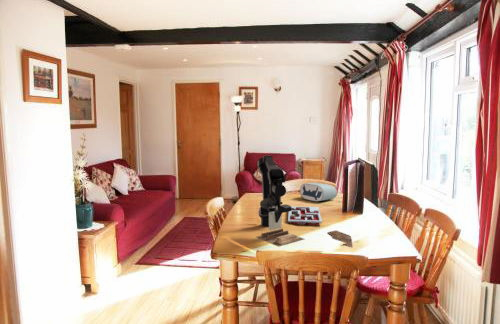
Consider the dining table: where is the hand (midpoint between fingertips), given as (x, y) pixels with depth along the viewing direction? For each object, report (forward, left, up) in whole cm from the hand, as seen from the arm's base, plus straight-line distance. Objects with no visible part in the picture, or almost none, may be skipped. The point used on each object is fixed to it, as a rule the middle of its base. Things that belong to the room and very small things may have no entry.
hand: (275, 221), depth 187 cm
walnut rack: (+4, 0, -9) cm, 9 cm away
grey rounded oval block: (-49, +87, -9) cm, 100 cm away
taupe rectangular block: (0, 0, -4) cm, 4 cm away
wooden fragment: (+22, +27, -9) cm, 36 cm away
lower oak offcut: (+9, 0, -8) cm, 12 cm away
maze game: (-19, +41, -9) cm, 46 cm away
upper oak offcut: (+9, 0, -6) cm, 11 cm away
